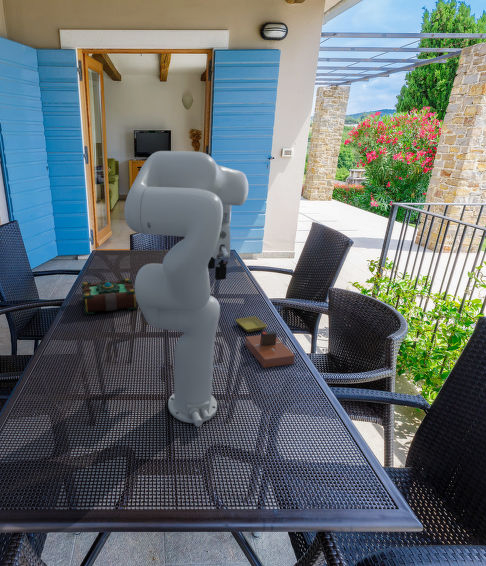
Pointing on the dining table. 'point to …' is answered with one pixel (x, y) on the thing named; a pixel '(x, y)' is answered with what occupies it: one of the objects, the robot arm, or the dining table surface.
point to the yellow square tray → (251, 324)
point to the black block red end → (268, 338)
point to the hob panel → (269, 352)
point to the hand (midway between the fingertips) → (214, 273)
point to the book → (108, 296)
